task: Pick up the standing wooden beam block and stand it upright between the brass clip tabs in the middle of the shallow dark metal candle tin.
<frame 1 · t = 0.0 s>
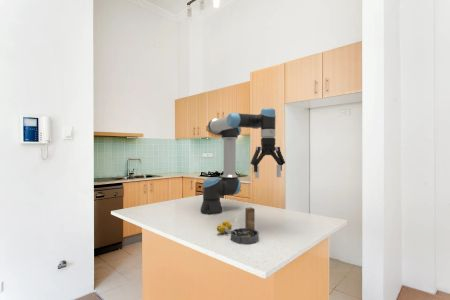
hand: (268, 177, 130), 28 cm above the countertop, fingers open, 13 cm apart
wooden beam block: (249, 231, 129), on the countertop
tin: (244, 238, 117), on the countertop
pressure relief valve: (229, 234, 124), on the countertop, touching tin
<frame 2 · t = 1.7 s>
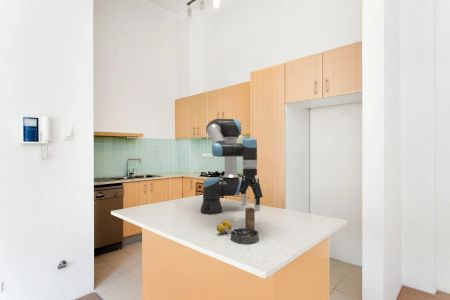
hand: (250, 208, 129), 12 cm above the countertop, fingers open, 13 cm apart
nothing on the countertop moved.
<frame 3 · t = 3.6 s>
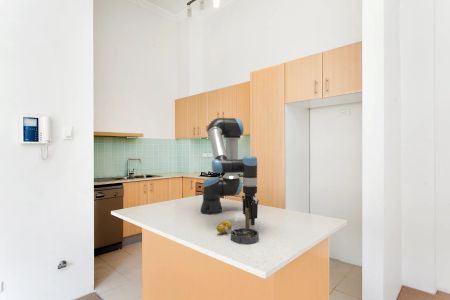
hand: (249, 229, 129), 1 cm above the countertop, fingers closed on wooden beam block, 3 cm apart
wooden beam block: (249, 231, 129), on the countertop, touching gripper
everything else where it was.
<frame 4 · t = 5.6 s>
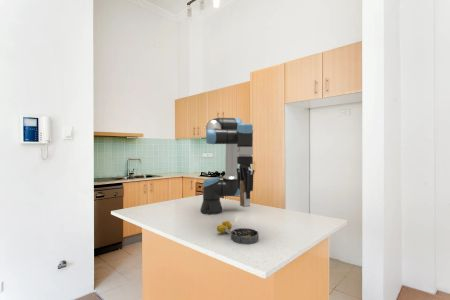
hand: (244, 204, 117), 16 cm above the countertop, fingers closed on wooden beam block, 3 cm apart
wooden beam block: (244, 205, 117), point 16 cm above the countertop, touching gripper
everything else where it was.
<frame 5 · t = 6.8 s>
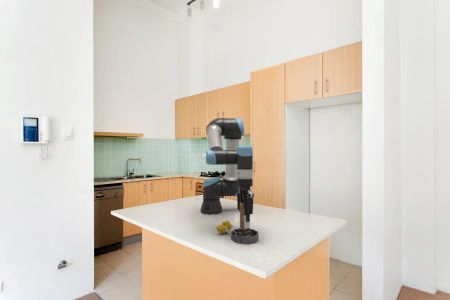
hand: (244, 226, 117), 6 cm above the countertop, fingers closed on wooden beam block, 3 cm apart
wooden beam block: (244, 228, 117), point 5 cm above the countertop, touching gripper
everything else where it was.
when the fingers open (2 cm above the countertop, at t = 7.8 s): wooden beam block stays where it is, resting on tin.
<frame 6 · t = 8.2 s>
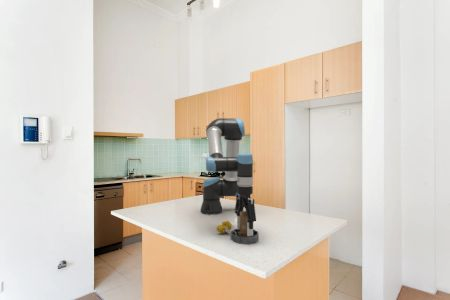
hand: (244, 232, 117), 3 cm above the countertop, fingers open, 9 cm apart
wooden beam block: (244, 237, 117), point 1 cm above the countertop, touching tin
everything else where it was.
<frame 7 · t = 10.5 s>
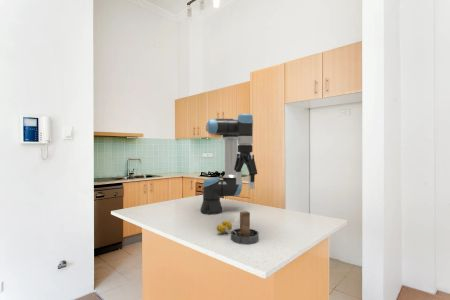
hand: (244, 186, 125), 24 cm above the countertop, fingers open, 13 cm apart
nothing on the countertop moved.
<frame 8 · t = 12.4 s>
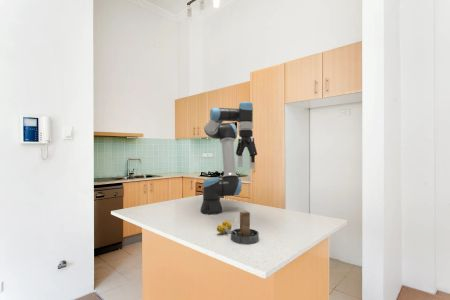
hand: (245, 167, 137), 33 cm above the countertop, fingers open, 13 cm apart
nothing on the countertop moved.
at the end: wooden beam block 0.0 cm off-centre on the tin, point 0.8 cm above the tin's base; wooden beam block tilted 0°; the gripper is holding nothing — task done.
